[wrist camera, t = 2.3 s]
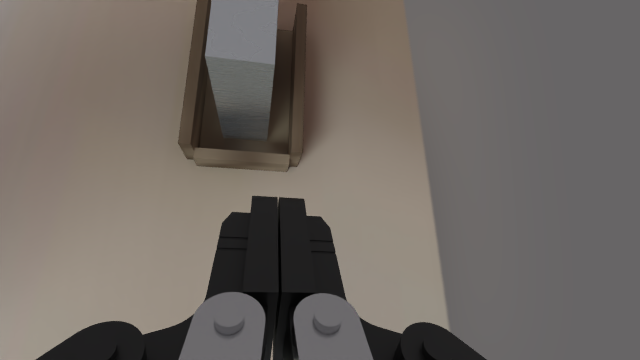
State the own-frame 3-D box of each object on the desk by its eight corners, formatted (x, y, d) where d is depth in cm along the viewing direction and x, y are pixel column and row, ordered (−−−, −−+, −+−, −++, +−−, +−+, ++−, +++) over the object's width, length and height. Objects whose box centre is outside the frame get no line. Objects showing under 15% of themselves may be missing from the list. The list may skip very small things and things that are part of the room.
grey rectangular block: (223, 137, 28) (204, 56, 17) (233, 32, 30) (222, -94, 20) (266, 141, 28) (274, 64, 18) (273, 38, 31) (283, -82, 20)
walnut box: (187, 166, 27) (177, 149, 23) (205, 21, 30) (198, -12, 27) (296, 173, 28) (302, 159, 25) (300, 34, 32) (306, 4, 28)
